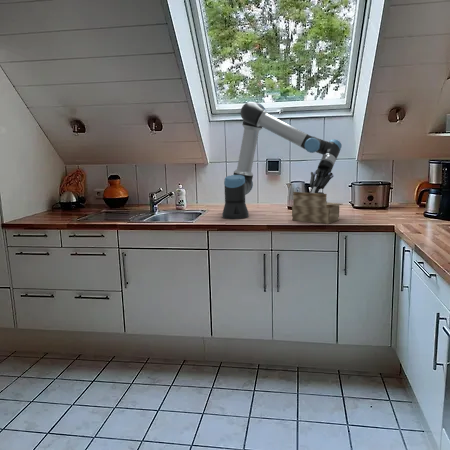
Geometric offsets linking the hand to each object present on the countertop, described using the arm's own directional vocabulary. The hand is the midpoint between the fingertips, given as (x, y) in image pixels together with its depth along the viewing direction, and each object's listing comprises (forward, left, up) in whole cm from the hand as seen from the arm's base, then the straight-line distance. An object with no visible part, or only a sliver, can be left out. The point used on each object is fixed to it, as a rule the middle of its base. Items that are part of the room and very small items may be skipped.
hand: (311, 198), depth 233 cm
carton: (0, +8, -13) cm, 15 cm away
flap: (0, -2, -5) cm, 5 cm away
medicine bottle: (-10, +27, -13) cm, 32 cm away
